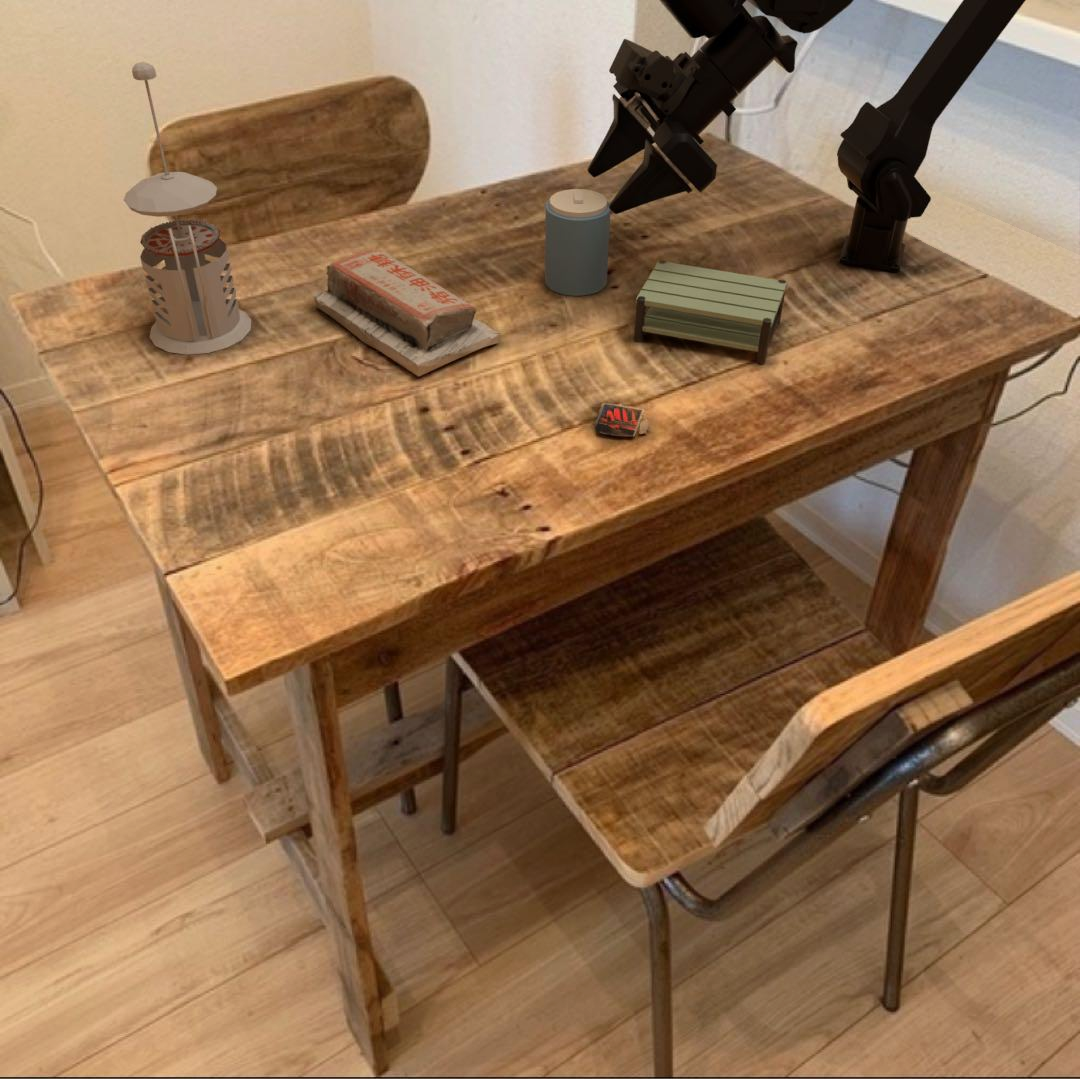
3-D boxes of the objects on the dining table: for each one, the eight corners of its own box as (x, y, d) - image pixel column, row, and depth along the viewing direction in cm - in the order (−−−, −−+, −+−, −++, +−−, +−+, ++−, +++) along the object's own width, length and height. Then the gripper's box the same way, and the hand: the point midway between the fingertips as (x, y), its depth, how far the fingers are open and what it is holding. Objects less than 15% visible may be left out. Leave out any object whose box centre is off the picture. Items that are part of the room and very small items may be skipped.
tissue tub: (556, 263, 117) (557, 179, 111) (614, 272, 115) (619, 188, 109) (536, 290, 112) (536, 204, 106) (596, 300, 110) (600, 214, 104)
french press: (243, 297, 110) (195, 40, 94) (262, 353, 102) (212, 81, 86) (144, 313, 107) (76, 51, 91) (156, 371, 99) (83, 94, 83)
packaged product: (305, 264, 105) (388, 236, 110) (312, 308, 109) (392, 279, 114) (414, 334, 95) (500, 299, 100) (418, 380, 98) (501, 344, 103)
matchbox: (595, 438, 92) (596, 433, 91) (594, 404, 95) (594, 400, 95) (650, 438, 92) (650, 434, 91) (646, 405, 95) (646, 401, 95)
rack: (655, 299, 111) (658, 259, 108) (780, 321, 107) (788, 280, 104) (632, 341, 104) (635, 299, 101) (764, 365, 101) (772, 323, 98)
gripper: (640, -16, 104) (528, 105, 110) (697, 40, 91) (566, 175, 96) (708, 64, 111) (599, 175, 116) (771, 128, 97) (644, 251, 102)
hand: (600, 191), depth 108 cm, fingers open, 9 cm apart
